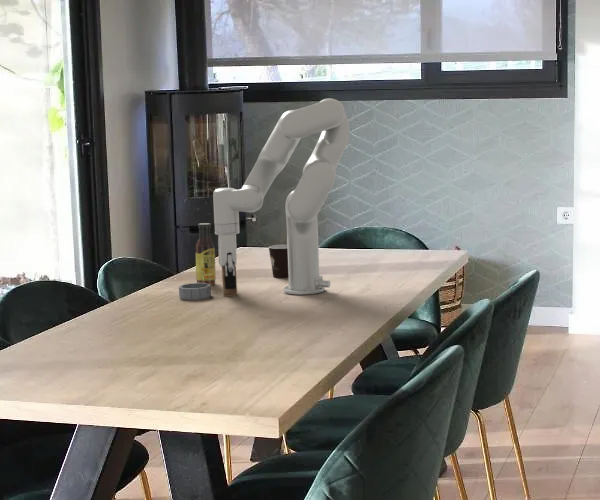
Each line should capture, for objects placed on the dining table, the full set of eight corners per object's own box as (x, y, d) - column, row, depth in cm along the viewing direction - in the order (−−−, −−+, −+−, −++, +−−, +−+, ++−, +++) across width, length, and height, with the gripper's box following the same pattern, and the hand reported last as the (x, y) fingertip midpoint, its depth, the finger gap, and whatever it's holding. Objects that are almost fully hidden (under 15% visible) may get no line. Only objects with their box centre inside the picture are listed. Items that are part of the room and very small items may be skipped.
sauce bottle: (206, 287, 357) (203, 225, 354) (192, 285, 360) (189, 224, 357) (220, 283, 362) (217, 222, 359) (206, 282, 366) (203, 222, 363)
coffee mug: (295, 278, 367) (294, 248, 365) (269, 279, 367) (268, 249, 365) (296, 272, 378) (295, 243, 377) (270, 273, 378) (269, 243, 377)
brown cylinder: (235, 293, 345) (234, 261, 344) (237, 295, 341) (235, 263, 340) (223, 293, 345) (221, 261, 343) (224, 296, 341) (222, 263, 339)
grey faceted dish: (209, 292, 347) (209, 282, 346) (211, 298, 337) (211, 287, 337) (178, 294, 345) (178, 284, 345) (180, 300, 336) (179, 289, 335)
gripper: (212, 225, 348) (215, 282, 350) (216, 233, 331) (219, 292, 334) (236, 224, 349) (239, 281, 351) (242, 231, 332) (244, 291, 335)
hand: (229, 286), depth 342 cm, fingers open, 5 cm apart
